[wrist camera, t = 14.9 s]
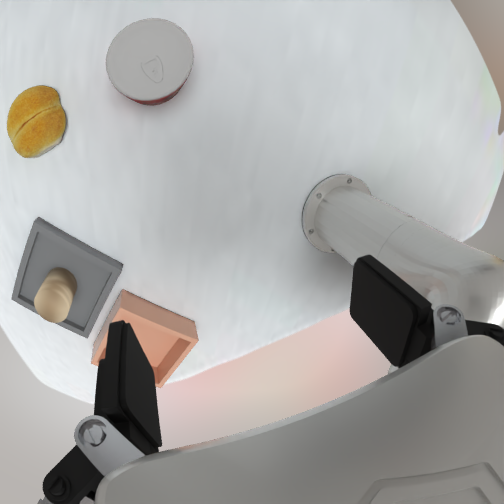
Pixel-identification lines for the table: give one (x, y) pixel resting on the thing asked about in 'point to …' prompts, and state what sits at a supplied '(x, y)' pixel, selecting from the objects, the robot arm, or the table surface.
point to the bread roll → (36, 121)
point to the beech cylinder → (56, 295)
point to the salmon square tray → (151, 334)
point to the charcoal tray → (73, 259)
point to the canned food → (150, 61)
